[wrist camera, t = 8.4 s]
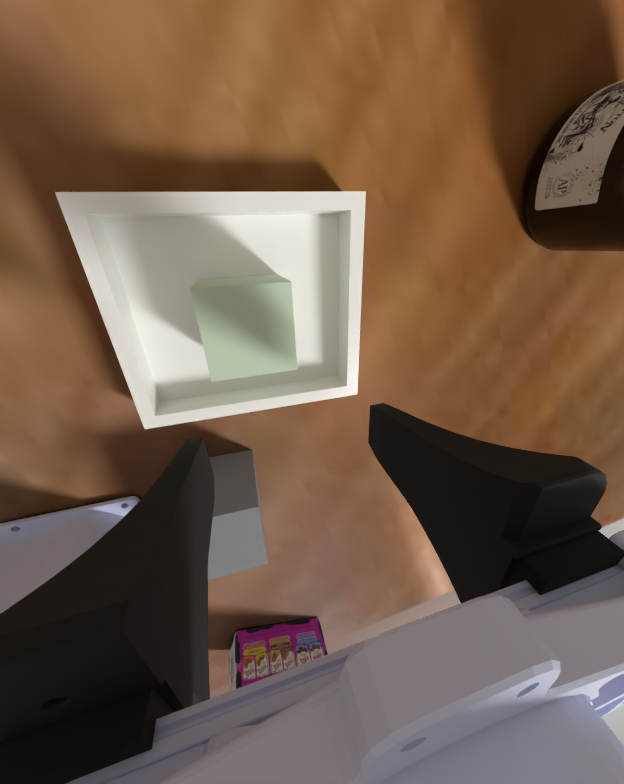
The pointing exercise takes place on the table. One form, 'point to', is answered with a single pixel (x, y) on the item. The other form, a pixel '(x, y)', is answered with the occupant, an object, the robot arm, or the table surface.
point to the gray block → (235, 516)
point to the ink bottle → (581, 178)
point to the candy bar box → (273, 650)
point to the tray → (216, 260)
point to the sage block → (246, 325)
